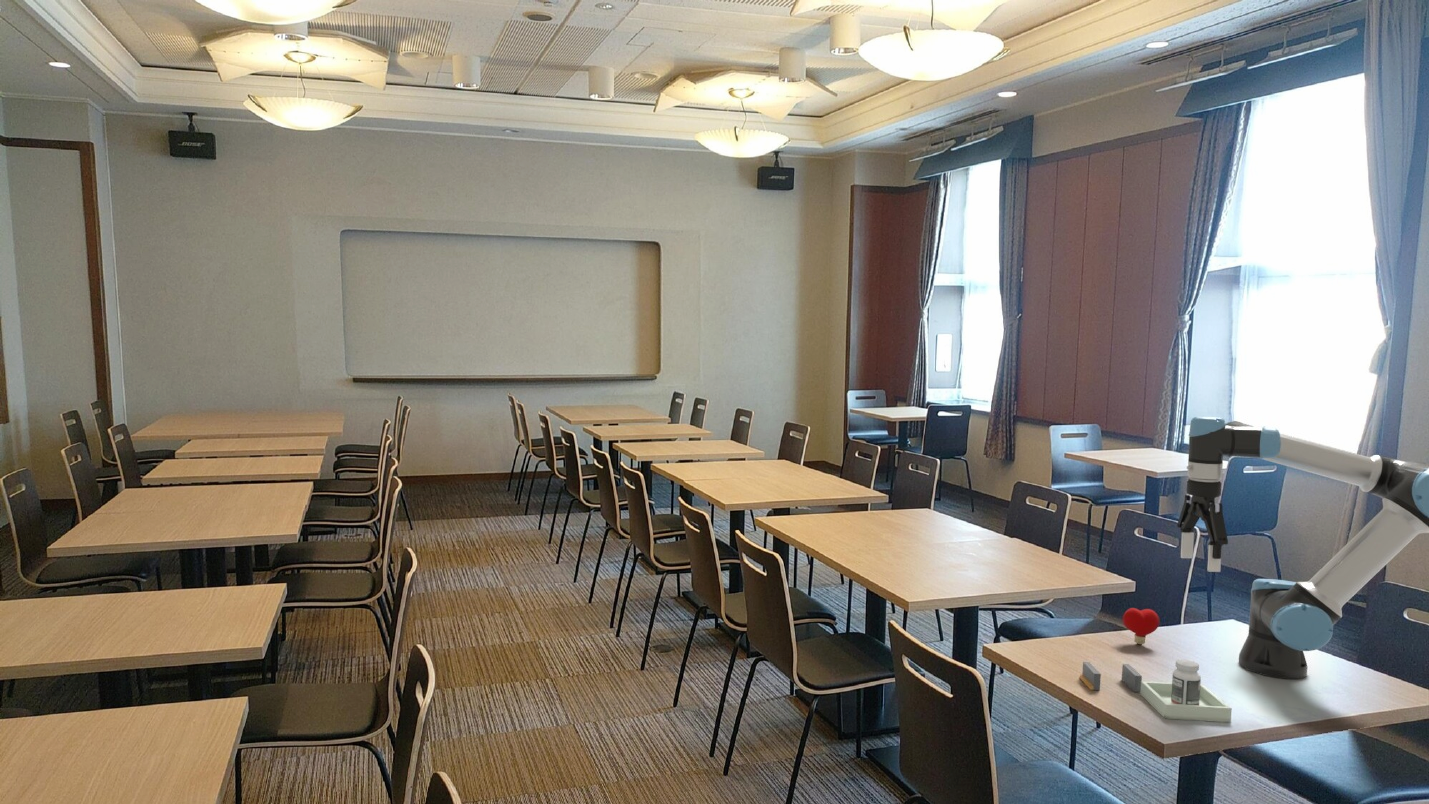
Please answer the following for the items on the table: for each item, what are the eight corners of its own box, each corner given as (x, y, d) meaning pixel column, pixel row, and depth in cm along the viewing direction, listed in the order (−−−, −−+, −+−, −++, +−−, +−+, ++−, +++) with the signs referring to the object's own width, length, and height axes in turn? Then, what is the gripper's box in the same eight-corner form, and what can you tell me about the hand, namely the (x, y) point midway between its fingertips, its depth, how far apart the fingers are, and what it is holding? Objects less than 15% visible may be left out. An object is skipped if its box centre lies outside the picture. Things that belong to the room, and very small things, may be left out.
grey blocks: (1130, 680, 227) (1131, 664, 227) (1143, 692, 219) (1144, 676, 219) (1079, 677, 228) (1080, 661, 227) (1090, 689, 220) (1091, 673, 219)
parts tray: (1201, 697, 217) (1202, 684, 217) (1230, 722, 203) (1231, 708, 203) (1140, 694, 218) (1141, 681, 218) (1165, 718, 204) (1166, 704, 204)
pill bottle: (1198, 703, 212) (1201, 661, 211) (1199, 712, 206) (1202, 668, 206) (1170, 698, 214) (1173, 656, 213) (1170, 707, 209) (1173, 664, 208)
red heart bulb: (1125, 647, 251) (1127, 611, 251) (1118, 639, 258) (1120, 604, 257) (1161, 650, 250) (1163, 614, 249) (1153, 642, 257) (1155, 606, 256)
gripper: (1165, 471, 240) (1161, 552, 241) (1214, 487, 215) (1209, 577, 217) (1194, 472, 240) (1190, 553, 241) (1247, 488, 215) (1242, 577, 216)
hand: (1199, 564), depth 229 cm, fingers open, 13 cm apart
